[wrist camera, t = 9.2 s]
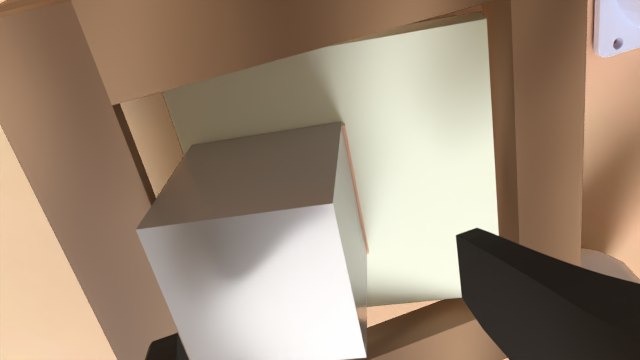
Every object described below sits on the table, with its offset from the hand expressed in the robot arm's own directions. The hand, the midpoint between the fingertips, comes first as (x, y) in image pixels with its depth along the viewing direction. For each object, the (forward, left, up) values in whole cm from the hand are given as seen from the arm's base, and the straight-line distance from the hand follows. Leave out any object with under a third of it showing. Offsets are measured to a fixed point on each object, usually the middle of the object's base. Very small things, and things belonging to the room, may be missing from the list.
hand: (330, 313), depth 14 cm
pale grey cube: (0, 0, -6) cm, 6 cm away
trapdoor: (-3, 0, -6) cm, 7 cm away
